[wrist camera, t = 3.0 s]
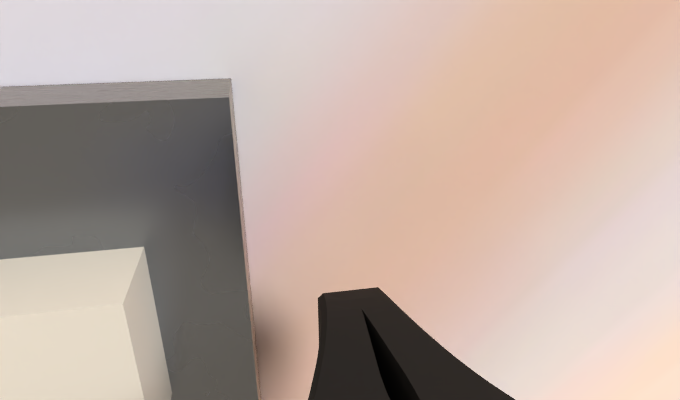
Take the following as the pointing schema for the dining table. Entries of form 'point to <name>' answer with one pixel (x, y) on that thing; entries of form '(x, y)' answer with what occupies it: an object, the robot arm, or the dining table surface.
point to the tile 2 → (80, 328)
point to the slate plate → (142, 208)
